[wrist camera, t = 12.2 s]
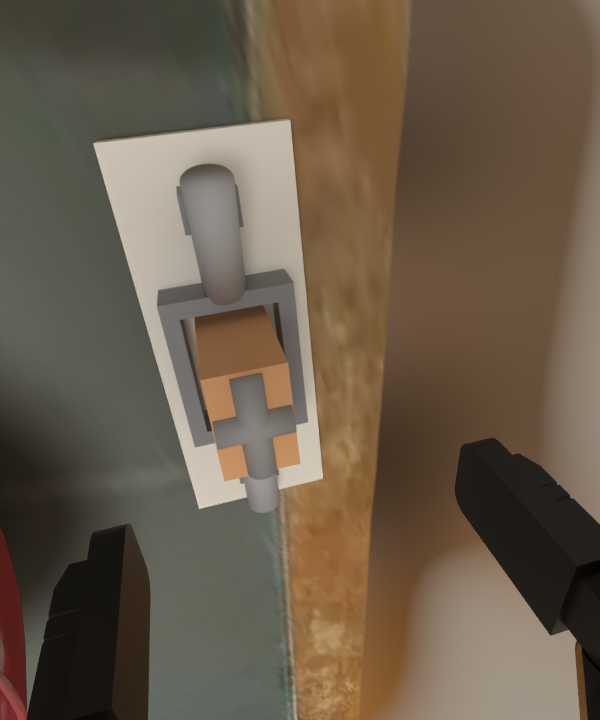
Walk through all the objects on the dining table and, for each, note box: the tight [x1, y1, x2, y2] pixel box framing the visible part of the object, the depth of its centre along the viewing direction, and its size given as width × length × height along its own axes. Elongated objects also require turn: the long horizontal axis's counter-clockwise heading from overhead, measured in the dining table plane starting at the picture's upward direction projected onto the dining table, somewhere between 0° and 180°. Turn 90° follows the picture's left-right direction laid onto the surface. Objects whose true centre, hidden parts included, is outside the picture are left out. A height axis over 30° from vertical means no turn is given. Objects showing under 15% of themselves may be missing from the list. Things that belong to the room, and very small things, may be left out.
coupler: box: [194, 305, 300, 482], centre depth 27 cm, size 6×4×9 cm, turn 6°
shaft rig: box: [93, 119, 323, 513], centre depth 29 cm, size 10×26×7 cm, turn 6°
